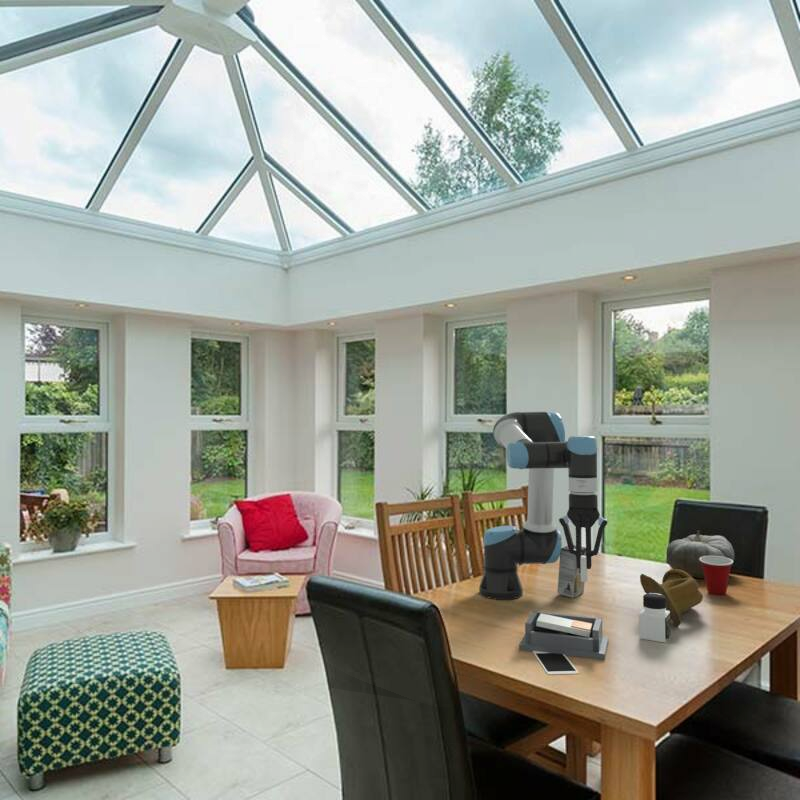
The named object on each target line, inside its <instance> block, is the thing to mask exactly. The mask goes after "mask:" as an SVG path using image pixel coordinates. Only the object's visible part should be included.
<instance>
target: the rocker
mask: <svg viewBox="0 0 800 800" xmlns="http://www.w3.org/2000/svg"><path fill="white" fill-rule="evenodd" d="M536 626H539V627H543V628H548V629H553V630H557V631H562V632H567V633H571V634H576V635H581V636H585V637H590V634H591V631H592V623H587V622H582V621H577V620H571V619H566V618H561V617H556V616H551V615H547V614H542V613H541V614H540V616H539V618H538V619H537V623H536Z"/></svg>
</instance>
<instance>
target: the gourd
mask: <svg viewBox="0 0 800 800" xmlns="http://www.w3.org/2000/svg"><path fill="white" fill-rule="evenodd" d="M703 556H722V557H726V558H729V559H732V560H733V562H734V560H735V550H734V548H733V545H732V543H731V542H729V540H728V539H727V538H726V537H725V536H723V535H702V534H701V530H697V531H696V534H690V535H688V536H686V537H684V538H682V539H675V540H672V542H670V543H669V545H668V546H667V547H666V561H667V564H668V566H669V567H671V568H672V569H678V570H683V571H685V572H687V573H688V574H689V575H691V576H692V578H697V579H705V577H704V572H703V567H702V564H701V561H700V560H699V559H700V557H703Z"/></svg>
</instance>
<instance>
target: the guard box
mask: <svg viewBox="0 0 800 800" xmlns="http://www.w3.org/2000/svg"><path fill="white" fill-rule="evenodd" d="M541 613H542V614H547V615H551V616H556V617H561V618H566V619H571V620H577V621H582V622H587V623H592V631H591V634H590V637H585V636H581V635H576V634H571V633H567V632H562V631H557V630H553V629H548V628H543V627H539V626H536V623H537V619H538V618H539V616H540V614H541ZM524 629H525V630H524V632H525V633H524V636H523V637H522V639H521V641H520V642H519V644H518V650H519V651H524V652H533V651H539V652H548V653H556V654H564V655H565V656H566V657H577V658H585V659H593V660H600V659H601V660H602V661H605V660H606V655H607V651H608V647H609V636H603V617H600V616H590V615H589V616H588V615H580V614H579V615H578V614H570V613H569V614H568V613H558V612H548V611H537V610H532V611H531V613H530V615H529V616H528V618H527V619H526V621H525V622H524Z"/></svg>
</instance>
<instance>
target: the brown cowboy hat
mask: <svg viewBox="0 0 800 800" xmlns="http://www.w3.org/2000/svg"><path fill="white" fill-rule="evenodd" d="M639 578H640V579H639V580H640V581H639V582H640V585H641V587H642V589H643V591H644V593H645V594H648V593H657V594H661V595H663V596H665V597H666V610H667V611H670V620H671V621H672V623H673V626H674V627H679V626H680V625H681V624H682V622H681V618H680V617H681V616H680V615H682V613H684V612H687V611H688V610H690V609H691V608H694V607H696V606H697V605H700V604H701V603H702V602H703V599H704V595H703V593H702V592H701V591H700V590H699V584H698V582H697V580H696V579H695V578H694V577H693V576H691V575H689V574H688V573H687V572H685V571H683V570H678V569H673V568H672V569H668V570H667V571H666V572H665V573H664V574H663V577H662V583H661V584H660V583H659V582H658V581H656V580H655V579H654V578H652V577H651V576H649V575H647V574H645V573H641V574H640V575H639Z"/></svg>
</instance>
